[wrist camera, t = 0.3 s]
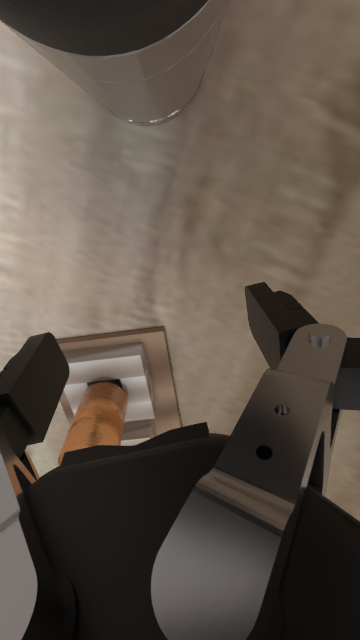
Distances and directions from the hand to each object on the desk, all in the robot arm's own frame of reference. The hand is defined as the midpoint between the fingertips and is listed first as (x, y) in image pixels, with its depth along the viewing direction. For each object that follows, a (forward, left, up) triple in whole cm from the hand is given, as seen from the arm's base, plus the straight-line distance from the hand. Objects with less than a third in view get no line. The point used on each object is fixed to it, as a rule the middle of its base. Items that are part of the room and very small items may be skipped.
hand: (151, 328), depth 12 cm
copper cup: (+15, -8, -17) cm, 24 cm away
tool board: (+21, -8, -18) cm, 28 cm away
